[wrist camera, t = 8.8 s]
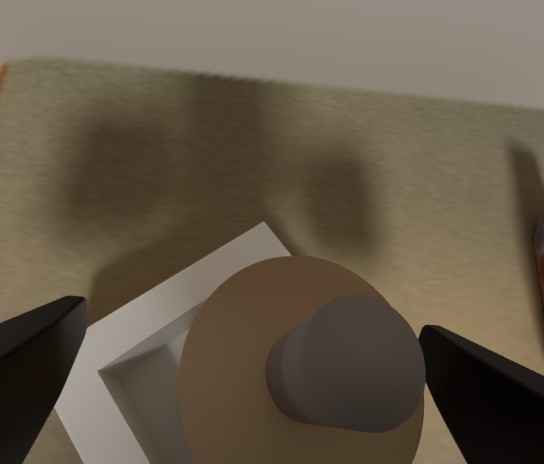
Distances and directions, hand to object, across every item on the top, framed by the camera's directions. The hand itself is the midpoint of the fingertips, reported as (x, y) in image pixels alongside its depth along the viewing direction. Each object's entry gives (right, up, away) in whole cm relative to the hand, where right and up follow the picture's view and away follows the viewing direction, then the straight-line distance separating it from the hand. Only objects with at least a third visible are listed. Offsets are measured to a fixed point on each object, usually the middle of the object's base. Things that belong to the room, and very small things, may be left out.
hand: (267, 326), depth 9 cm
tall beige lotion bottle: (-2, -5, +7) cm, 9 cm away
